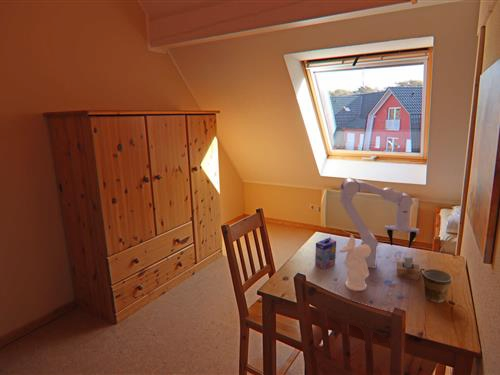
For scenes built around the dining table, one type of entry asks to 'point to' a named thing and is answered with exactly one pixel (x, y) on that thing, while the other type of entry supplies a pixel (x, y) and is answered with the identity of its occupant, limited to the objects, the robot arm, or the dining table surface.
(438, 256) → the dining table surface
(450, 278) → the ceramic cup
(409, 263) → the dowel
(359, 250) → the cherub figurine
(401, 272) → the socket block
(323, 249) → the ink cartridge box
